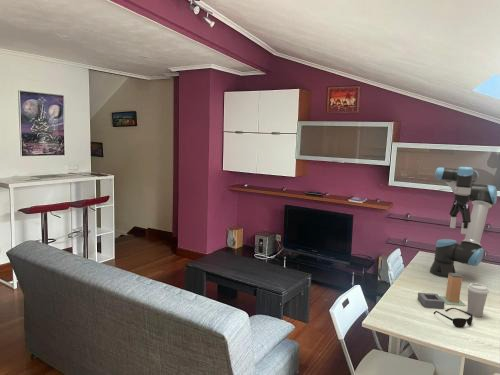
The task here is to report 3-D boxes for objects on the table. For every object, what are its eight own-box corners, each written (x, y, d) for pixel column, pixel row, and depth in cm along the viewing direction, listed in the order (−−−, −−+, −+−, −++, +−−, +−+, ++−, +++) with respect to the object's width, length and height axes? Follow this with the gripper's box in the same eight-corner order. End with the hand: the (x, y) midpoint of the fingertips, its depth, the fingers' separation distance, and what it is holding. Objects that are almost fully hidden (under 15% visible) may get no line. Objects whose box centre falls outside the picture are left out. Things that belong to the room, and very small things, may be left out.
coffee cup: (482, 311, 195) (486, 284, 193) (487, 319, 186) (491, 291, 184) (462, 308, 198) (465, 281, 196) (466, 316, 189) (469, 288, 187)
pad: (439, 296, 212) (439, 296, 212) (457, 297, 211) (457, 297, 211) (446, 304, 202) (446, 303, 202) (466, 305, 201) (466, 305, 201)
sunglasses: (456, 330, 176) (458, 320, 175) (429, 314, 190) (430, 305, 189) (476, 325, 181) (477, 315, 180) (448, 310, 195) (449, 301, 194)
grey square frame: (417, 299, 207) (418, 292, 206) (436, 300, 206) (436, 293, 206) (424, 307, 197) (425, 300, 196) (443, 309, 196) (444, 301, 196)
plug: (445, 298, 209) (448, 272, 207) (454, 298, 209) (458, 273, 207) (449, 302, 204) (452, 275, 202) (458, 302, 204) (462, 276, 202)
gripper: (446, 190, 224) (441, 225, 227) (466, 197, 200) (461, 236, 203) (458, 191, 224) (454, 225, 227) (481, 198, 199) (475, 237, 202)
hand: (457, 230), depth 215 cm, fingers open, 13 cm apart
